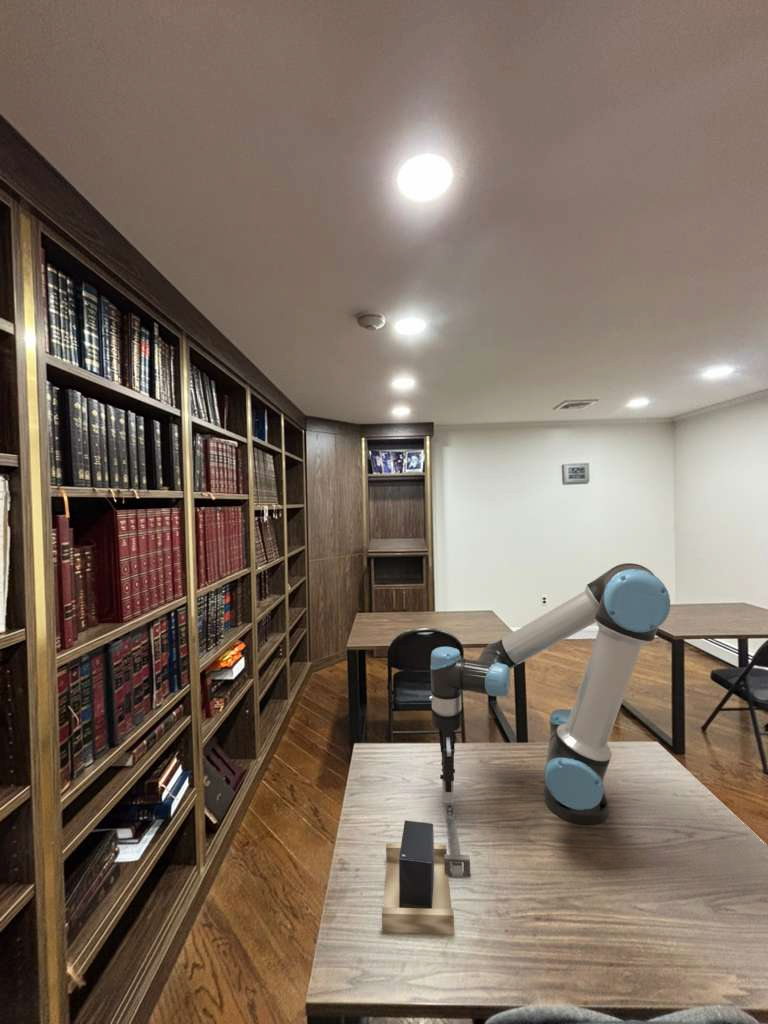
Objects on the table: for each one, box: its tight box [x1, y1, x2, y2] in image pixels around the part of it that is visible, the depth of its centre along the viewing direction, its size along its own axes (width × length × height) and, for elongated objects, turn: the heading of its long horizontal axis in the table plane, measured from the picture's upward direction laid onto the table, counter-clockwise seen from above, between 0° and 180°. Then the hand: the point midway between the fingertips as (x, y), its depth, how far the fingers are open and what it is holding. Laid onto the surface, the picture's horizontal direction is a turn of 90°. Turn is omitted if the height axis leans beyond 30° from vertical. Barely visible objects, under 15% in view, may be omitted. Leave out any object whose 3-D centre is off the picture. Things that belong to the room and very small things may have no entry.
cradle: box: [381, 843, 471, 935], centre depth 88 cm, size 18×16×4 cm
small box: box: [399, 820, 435, 909], centre depth 88 cm, size 11×6×10 cm, turn 171°
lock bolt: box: [444, 804, 464, 878], centre depth 100 cm, size 2×18×3 cm, turn 177°
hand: (448, 800), depth 112 cm, fingers closed
